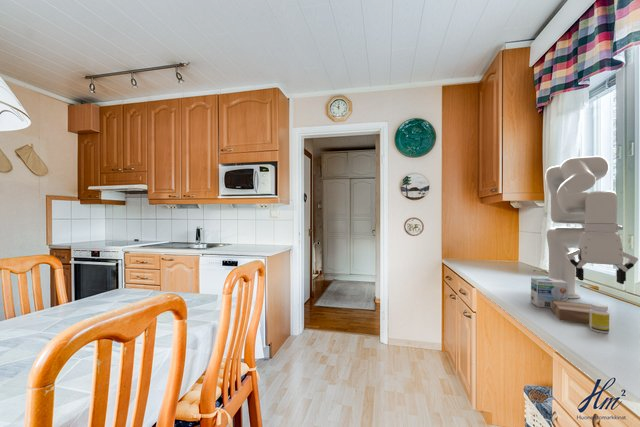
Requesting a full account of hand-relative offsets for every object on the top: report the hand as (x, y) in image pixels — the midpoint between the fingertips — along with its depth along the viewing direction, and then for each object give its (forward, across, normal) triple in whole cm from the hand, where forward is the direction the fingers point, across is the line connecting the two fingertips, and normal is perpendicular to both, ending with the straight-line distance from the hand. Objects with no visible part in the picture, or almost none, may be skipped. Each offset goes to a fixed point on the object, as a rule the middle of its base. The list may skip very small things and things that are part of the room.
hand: (599, 281), depth 94 cm
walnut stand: (+16, +3, -12) cm, 20 cm away
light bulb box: (+16, +9, -24) cm, 30 cm away
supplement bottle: (+16, 0, -1) cm, 16 cm away
